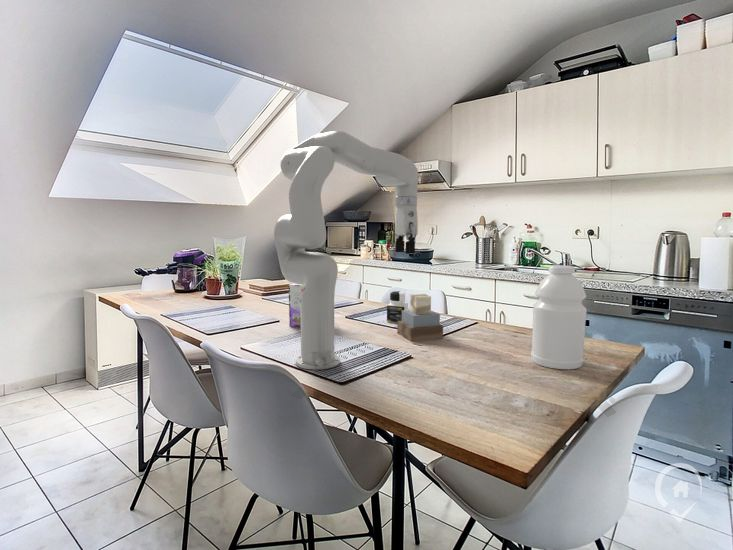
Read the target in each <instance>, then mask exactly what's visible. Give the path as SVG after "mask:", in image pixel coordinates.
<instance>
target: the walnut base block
mask: <svg viewBox="0 0 733 550" xmlns="http://www.w3.org/2000/svg"><path fill="white" fill-rule="evenodd" d="M396 329H397V331H396V333H397V334H398V335H399V336H401V337H403V338H405V339H406V340H407V341H409V342H411V343H414V342H425V341H426V342H427V341H436V340H443V339H444V325H442V324H440V325H439V326H427V327H414V328H413V327H411V326H409V325H408V324H406V323H404V322H402V321H398V323H397V328H396Z"/></svg>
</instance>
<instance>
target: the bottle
mask: <svg viewBox="0 0 733 550" xmlns="http://www.w3.org/2000/svg"><path fill="white" fill-rule="evenodd" d="M548 272H549V274H548V275H546V276H545V277H544V278H543V279H542V281H540V283H539V284H538V286H537V288H536V291H535V292H534V293H535V296H537V298H538V300H537V302H535V303H534V304H533V307H532V308H533V309H532V331H531V332H532V333H531V336H532V337H531V351H530V358H531V362H533V363H535V364H537V365H538V366H542V367H545V368H550V369H556V370H575V369H579V368H581V367H582V366H583V363H584V360H585V359H584V349H585V348H584V347H585V339H586V338H585V335H586V324H587V323H586V322H587V320H586V319H587V311H588V309H587V308H586V307H585V306H584V305H583V301H584V300H585V299H586V298H587V294H586V291H585V288H584V286H583V285H582V283H581V282H580V280H578V278H576V276H575V275H574V274H575V272H576V270H575V267H574V266H572V265H558V264H555V265H554V264H553V265H549V266H548Z"/></svg>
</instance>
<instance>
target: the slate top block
mask: <svg viewBox="0 0 733 550" xmlns="http://www.w3.org/2000/svg"><path fill="white" fill-rule="evenodd" d="M440 318H441V314H440V313H438V312H436V311H433V310H431V314H414V313H412V312H411V311H410V309H408V310H402V322H404V323H406V324H408V325H409V326H411V327H413V328H414V327H427V326H439V325H441V324H440V323H441V321H440V320H441V319H440Z"/></svg>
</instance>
